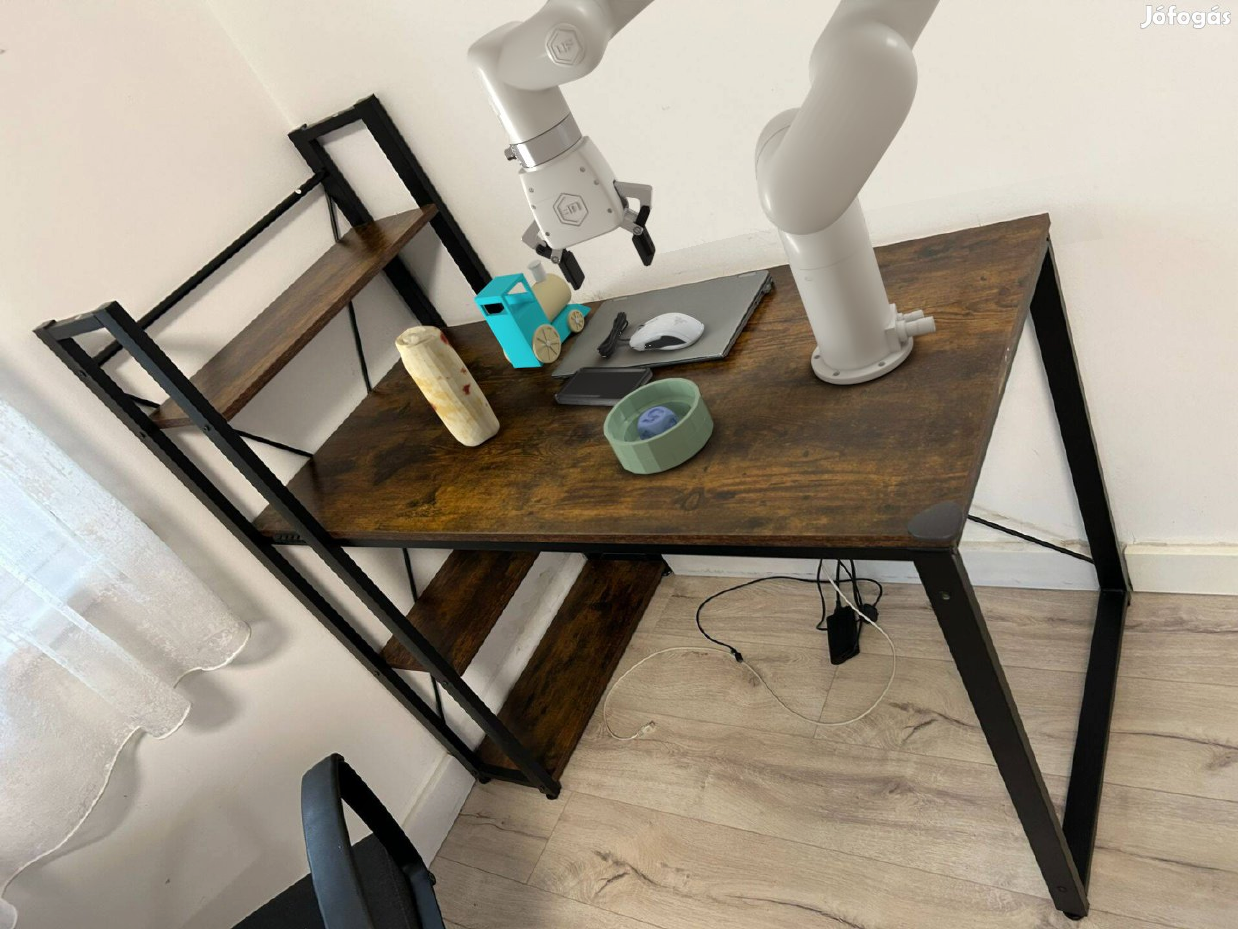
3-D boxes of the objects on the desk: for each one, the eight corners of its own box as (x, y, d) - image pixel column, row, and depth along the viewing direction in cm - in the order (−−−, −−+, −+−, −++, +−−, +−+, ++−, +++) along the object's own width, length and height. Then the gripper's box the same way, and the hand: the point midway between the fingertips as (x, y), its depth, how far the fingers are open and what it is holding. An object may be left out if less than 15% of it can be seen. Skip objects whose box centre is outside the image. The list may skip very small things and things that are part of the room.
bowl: (722, 401, 116) (707, 369, 113) (705, 467, 106) (689, 433, 103) (633, 420, 122) (617, 389, 119) (610, 484, 112) (592, 452, 109)
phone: (579, 366, 138) (652, 366, 128) (582, 372, 139) (655, 372, 129) (551, 398, 134) (624, 400, 124) (554, 404, 135) (627, 406, 125)
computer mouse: (692, 354, 129) (681, 332, 126) (595, 363, 140) (584, 343, 137) (717, 315, 134) (708, 293, 132) (622, 326, 145) (612, 306, 143)
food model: (513, 420, 137) (447, 315, 126) (490, 449, 133) (420, 342, 122) (470, 422, 142) (403, 322, 132) (447, 450, 138) (376, 348, 128)
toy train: (597, 312, 154) (559, 238, 146) (547, 370, 145) (503, 294, 137) (564, 315, 159) (525, 244, 151) (514, 372, 150) (470, 299, 142)
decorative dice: (644, 448, 114) (632, 424, 112) (661, 428, 116) (650, 404, 114) (667, 451, 111) (655, 427, 109) (684, 430, 113) (673, 407, 111)
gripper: (474, 183, 98) (546, 309, 107) (609, 126, 91) (674, 266, 100) (494, 156, 103) (561, 278, 113) (623, 100, 96) (684, 236, 105)
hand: (614, 272), depth 106 cm, fingers open, 9 cm apart
